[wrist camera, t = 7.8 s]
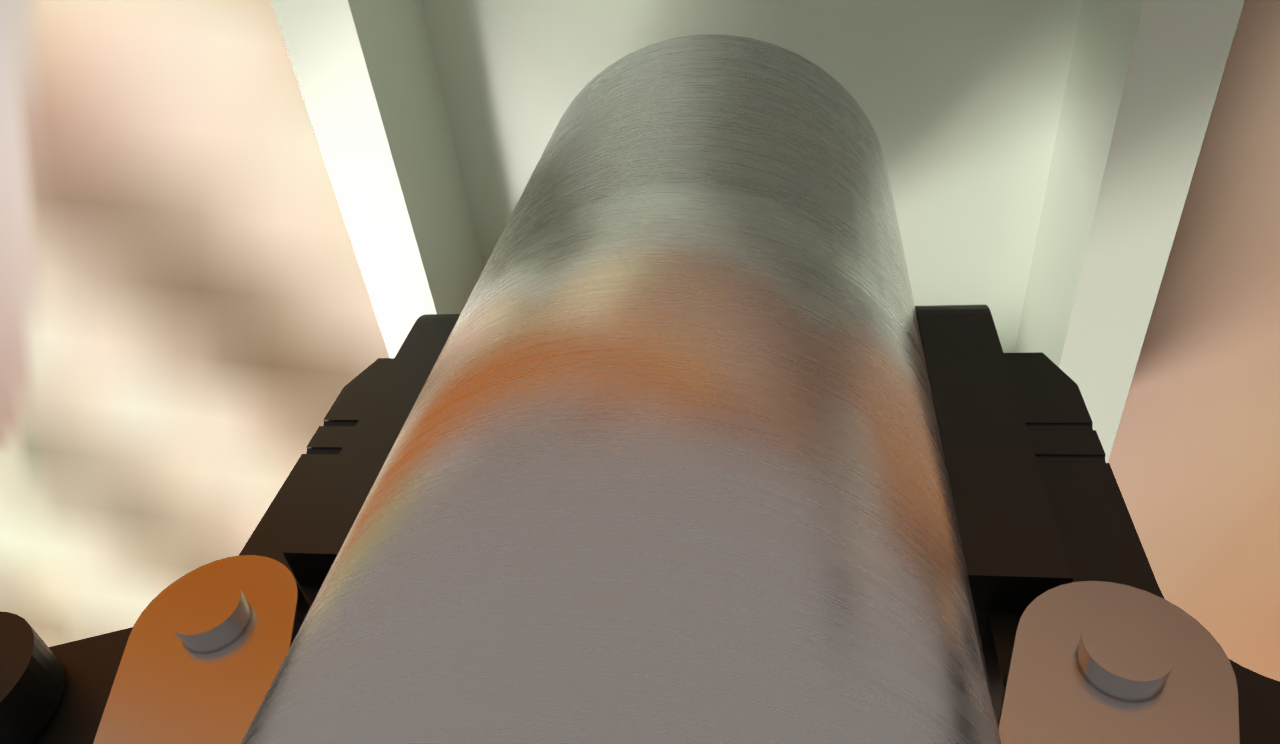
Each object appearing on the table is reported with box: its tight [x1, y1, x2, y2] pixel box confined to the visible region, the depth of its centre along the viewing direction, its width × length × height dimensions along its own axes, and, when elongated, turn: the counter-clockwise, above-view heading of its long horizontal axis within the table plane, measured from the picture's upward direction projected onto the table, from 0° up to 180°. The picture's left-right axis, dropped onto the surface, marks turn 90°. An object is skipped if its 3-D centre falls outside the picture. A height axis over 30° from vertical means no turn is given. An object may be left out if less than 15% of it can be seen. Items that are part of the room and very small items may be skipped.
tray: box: [270, 0, 1245, 463], centre depth 13 cm, size 11×11×3 cm
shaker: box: [241, 34, 1001, 744], centre depth 8 cm, size 5×5×11 cm
